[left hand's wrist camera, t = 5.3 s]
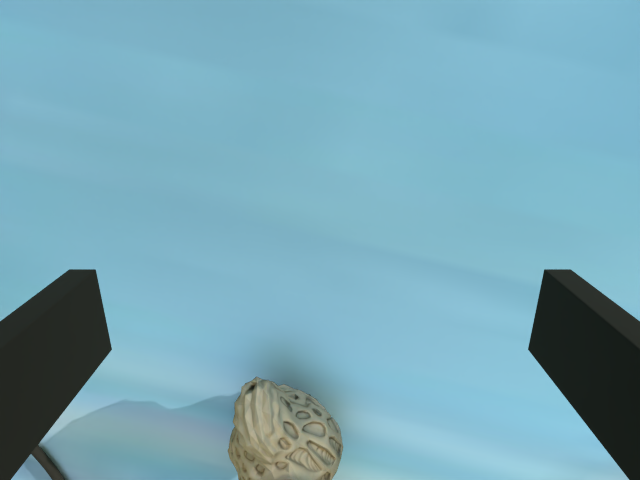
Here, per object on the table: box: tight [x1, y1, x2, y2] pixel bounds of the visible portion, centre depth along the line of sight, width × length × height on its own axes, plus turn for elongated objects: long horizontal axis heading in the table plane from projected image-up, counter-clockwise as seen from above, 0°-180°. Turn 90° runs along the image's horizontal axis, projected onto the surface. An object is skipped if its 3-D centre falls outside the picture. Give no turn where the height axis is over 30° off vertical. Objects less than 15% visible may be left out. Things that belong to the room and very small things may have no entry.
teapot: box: [228, 377, 343, 480], centre depth 42 cm, size 21×12×15 cm, turn 13°
